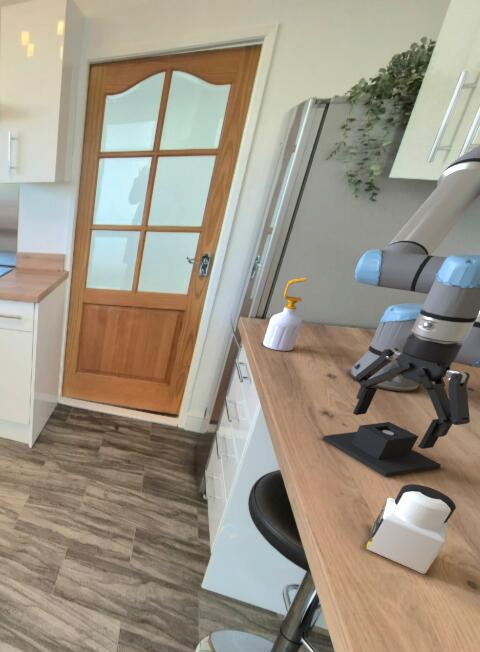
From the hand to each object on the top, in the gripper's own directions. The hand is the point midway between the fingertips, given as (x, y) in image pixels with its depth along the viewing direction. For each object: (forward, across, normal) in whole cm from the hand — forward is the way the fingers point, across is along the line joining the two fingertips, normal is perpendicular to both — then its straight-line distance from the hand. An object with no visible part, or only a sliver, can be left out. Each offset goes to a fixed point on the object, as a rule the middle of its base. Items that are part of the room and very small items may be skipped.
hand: (390, 429), depth 93 cm
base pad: (+6, 0, 0) cm, 6 cm away
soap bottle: (+7, -60, +31) cm, 68 cm away
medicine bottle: (+6, +23, -25) cm, 35 cm away
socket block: (+5, 0, -1) cm, 5 cm away
